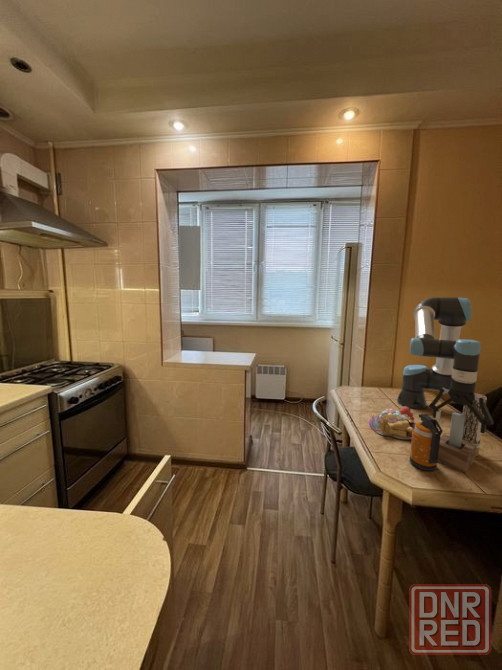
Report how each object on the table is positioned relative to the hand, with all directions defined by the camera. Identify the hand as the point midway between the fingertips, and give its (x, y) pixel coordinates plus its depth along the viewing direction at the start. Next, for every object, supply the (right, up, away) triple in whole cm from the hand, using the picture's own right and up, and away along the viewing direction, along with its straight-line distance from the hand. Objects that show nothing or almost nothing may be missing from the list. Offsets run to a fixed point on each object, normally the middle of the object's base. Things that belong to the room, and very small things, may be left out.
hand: (456, 432), depth 109 cm
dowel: (0, -9, +1) cm, 9 cm away
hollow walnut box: (0, -12, +2) cm, 12 cm away
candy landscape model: (-10, -8, +28) cm, 31 cm away
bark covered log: (+10, -11, +7) cm, 16 cm away
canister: (-14, -12, -2) cm, 19 cm away
